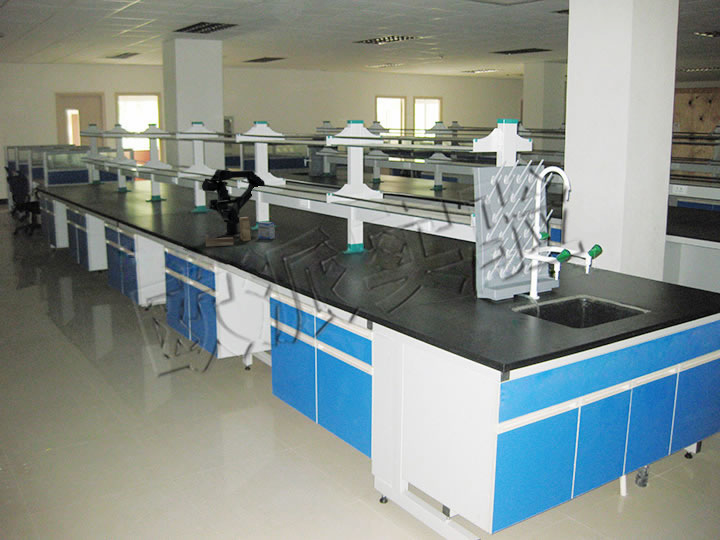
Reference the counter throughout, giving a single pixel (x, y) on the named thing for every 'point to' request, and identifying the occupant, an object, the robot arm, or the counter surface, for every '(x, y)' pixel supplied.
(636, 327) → the counter surface
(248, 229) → the oak plank block
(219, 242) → the lock board
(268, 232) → the medicine box
